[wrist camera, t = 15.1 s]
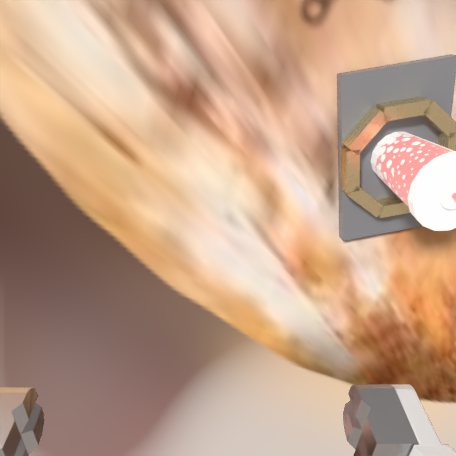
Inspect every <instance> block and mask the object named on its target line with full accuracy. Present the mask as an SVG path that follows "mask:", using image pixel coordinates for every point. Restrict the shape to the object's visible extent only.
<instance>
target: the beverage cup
mask: <svg viewBox="0 0 456 456" xmlns="http://www.w3.org/2000/svg"><path fill="white" fill-rule="evenodd" d="M371 164H372V169H373V171H374V172H375V173H376V174H377V176H378V177H379V178H380V179H381V180H382V181H383V182H384V183H385V184H386V185H387V186H388V187H389V188H390V189H391V190H392V191H393V192H394V193H395V194H396V195H397V196H398V197H399V198H400V199H401V200H402V201H403V202H404V203H405V204H406V205H407V206H408V207H409V210H410V212H411V214H412V215H413V216H414V217H415V219H416V220H417V221H418V222H419V223H420V224H421V225H422V226H424V227H426V228H429V229H431V230H434V231H446V230H452V229H454V228H456V151H453V150H451V149H448V148H445V147H443V146H440V145H438V144H435V143H433V142H430V141H427V140H425V139H422V138H420V137H417V136H415V135H412V134H409V133H407V132H394V133H391V134H389V135H387V136H385V137H384V138H383V139H382V140H381V141H379V142H378V143H377V145H376V147H375V149H374V150H373V152H372V157H371Z"/></svg>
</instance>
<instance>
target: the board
mask: <svg viewBox="0 0 456 456" xmlns="http://www.w3.org/2000/svg"><path fill="white" fill-rule="evenodd" d="M455 77H456V55H445V56H440V57H434V58H428V59H422V60H416V61H410V62H404V63H398V64H393V65H387V66H381V67H375V68H369V69H363V70H357V71H351V72H346V73H340V74H337V100H338V172H339V236H340V238H341V239H342V240H343V241H346V240H351V239H356V238H362V237H367V236H373V235H378V234H383V233H389V232H394V231H399V230H405V229H410V228H416V227H421V226H422V225H421V224H420V223H419V222H418V221H417V220H416V219H415V217H414V216H413V215H412V214H411V213H406V214H400V215H395V216H390V217H384V218H379V217H375V216H374V215H373V214H371V213H370V212H369V211H367V210H366V209H365V208H363V207H362V206H361V205H359V204H358V203H357V202H355V201H354V200H353V199H351V198H350V197H349V196H348V195H347V194H346V193H345V192H344V191H343V190H342V188H341V187H340V146H345V145H344V144H343V143H341V142H342V141H343V140H344V139H345V138H346V137H347V135H348V134H349V133H350V132H351V131H352V129H353V128H354V127H355V126H356V125H357V124H358V122H359V121H360V120H361V119H362V118H363V116H364V115H365V114H366V113H367V112H368V111H369V109H370V108H371V107H372V106H373V107H375V108H376V104H377V103H383V102H389V101H394V100H400V99H406V98H412V97H418V96H421V97H425V98H428V99H430V100H433V101H435V102H436V103H437V104H438V105H439V106H440V107H441V108H442V109H443V110H444V111H445V112H446V113H447V114H448V115H449V116H450V117H451V111H452V103H453V94H454V85H455ZM394 132H407V133H409V134H412V135H415V136H417V137H420V138H422V139H425V140H427V141H430V142H433V143H435V144H437V143H438V134H439V132H438V131H437V130H436V129H435V128H434V127H433V126H431V125H430V124H429V123H428V122H427V121H426V120H425V119H424V118H423V117H422V116H415V117H409V118H404V119H398V120H392V121H387V122H386V124H385V125H384V126H383V127H382V128H381V129H380V130H379V132H378V133H377V134H376V135H375V136H374V137H373V138H372V140H371V141H370V142H369V143H368V144H367V145H366V147H365V148H364V149H363V150H362V151H361V152H360V187H361V188H362V189H363V190H365V191H366V192H367V193H369V194H370V195H371V196H373V197H374V198H375V199H381V198H387V197H392V196H397V195H396V194H395V193H394V192H393V191H392V190H391V189H390V188H389V187H388V186H387V185H386V184H385V183H384V182H383V181H382V180H381V179H380V178H379V177H378V176H377V174H376V173H375V172H374V171H373V169H372V164H371V157H372V152H373V150H374V149H375V147H376V145H377V143H378V142H379V141H381V140H382V139H383V138H384V137H385V136H387V135H389V134H391V133H394Z"/></svg>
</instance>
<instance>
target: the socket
mask: <svg viewBox="0 0 456 456" xmlns="http://www.w3.org/2000/svg"><path fill="white" fill-rule="evenodd" d="M415 116H422V117H423V118H424V119H425V120H426V121H427V122H428V123H429V124H430V125H431V126H433V127H434V128H435V129H436V130H437V131H438V132H439V134H438V143H437V144H438V145H440V146H443V147H445V148H448V149H451V150H453V151H456V122H455V121H454V120H453V119H452V118H451V117H450V116H449V115H448V114H447V113H446V112H445V111H444V110H443V109H442V108H441V107H440V106H439V105H438V104H437V103H436V102H435V101H433V100H430V99H428V98H425V97H421V96H418V97H412V98H406V99H400V100H394V101H389V102H383V103H377V104H376V108H375V107H373V106H372V107H371V108H370V109H369V111H368V112H367V113H366V114H365V115H364V116H363V118H362V119H361V120H360V121H359V122H358V124H357V125H356V126H355V127H354V128H353V129H352V131H351V132H350V133H349V134H348V135H347V137H346V138H345V139H344V140H343V141H342V142H341V143H343V144H344V145H345V146H340V187H341V188H342V190H343V191H344V192H345V193H346V194H347V195H348V196H349V197H350V198H351V199H353V200H354V201H355V202H357V203H358V204H359V205H361V206H362V207H363V208H365V209H366V210H367V211H369V212H370V213H371V214H373V215H374V216H375V217H379V218H384V217H390V216H395V215H400V214H406V213H411V212H410V210H409V207H408V206H407V205H406V204H405V203H404V202H403V201H402V200H401V199H400V198H399V197H398V196H392V197H387V198H381V199H375V198H374V197H373V196H371V195H370V194H369V193H367V192H366V191H365V190H363V189H362V188H361V187H360V152H361V151H362V150H363V149H364V148H365V147H366V145H367V144H368V143H369V142H370V141H371V140H372V138H373V137H374V136H375V135H376V134H377V133H378V132H379V130H380V129H381V128H382V127H383V126H384V125H385V124H386V122H387V121H392V120H398V119H404V118H409V117H415Z"/></svg>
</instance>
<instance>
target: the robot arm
mask: <svg viewBox="0 0 456 456" xmlns="http://www.w3.org/2000/svg"><path fill="white" fill-rule="evenodd" d="M349 396H350V401H349V402H348V403H347V404H345V408H344V412H343V415H344V416H343V420H344V429H345V433H346V437H347V441H348V442H349V443H350V444H351V445H352V446H353V447H354V448H355V449H356V451H355V453H354V456H456V451H454V450H453V449H452V448H451V447H450V446H449V445H447V444H441V442H440V440H439V438H438V436H437V434H436V432H435V430H434V428H433V426H432V424H431V422H430V420H429V418H428V416H427V414H426V412H425V410H424V408H423V406H422V404H421V402H420V400H419V398H418V396H417V393H416V391H415V389H414V388H413V387H412V386H411V385H409V384H396V385H390V384H367V385H353V386H351V388H350V391H349ZM37 397H38V394H37V392H36V389H35V388H18V387H16V388H15V387H0V456H29V454H30V453H31V452H32V451H33V450H34V449H35V448H36V447H37V446H38V445H39V442H40V439H41V436H42V432H43V426H44V412H43V409H42V407H41V406H40V405H38V404H37V403H36V400H37Z"/></svg>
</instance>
